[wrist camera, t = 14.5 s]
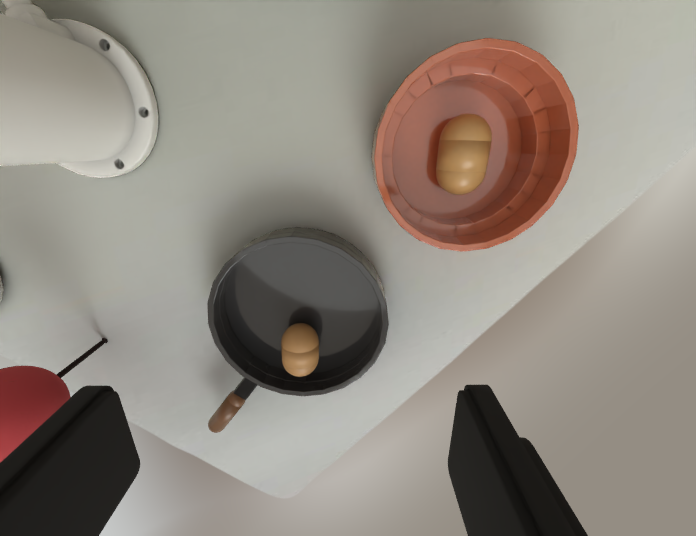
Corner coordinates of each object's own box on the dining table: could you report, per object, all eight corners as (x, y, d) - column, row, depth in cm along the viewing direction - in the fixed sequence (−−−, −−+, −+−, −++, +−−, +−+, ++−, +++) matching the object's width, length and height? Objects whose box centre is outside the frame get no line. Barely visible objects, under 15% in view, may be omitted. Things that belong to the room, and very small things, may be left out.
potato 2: (437, 114, 29) (450, 110, 25) (485, 116, 29) (505, 111, 25) (428, 190, 31) (439, 197, 27) (472, 192, 31) (489, 199, 27)
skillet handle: (249, 365, 37) (244, 377, 35) (264, 374, 37) (260, 386, 36) (209, 417, 40) (202, 431, 38) (223, 425, 40) (217, 439, 38)
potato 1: (284, 315, 36) (276, 335, 33) (320, 317, 36) (316, 336, 33) (286, 360, 39) (279, 383, 35) (320, 362, 38) (316, 385, 35)
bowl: (346, 107, 29) (343, 98, 24) (515, 26, 27) (556, -5, 21) (403, 255, 34) (413, 276, 29) (551, 197, 32) (593, 208, 26)
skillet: (190, 265, 35) (172, 279, 32) (345, 199, 32) (344, 205, 29) (270, 391, 41) (261, 415, 37) (407, 344, 38) (413, 365, 34)
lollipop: (74, 303, 37) (-98, 399, 23) (141, 325, 38) (14, 431, 24) (68, 355, 40) (-88, 470, 26) (131, 375, 41) (12, 497, 27)
